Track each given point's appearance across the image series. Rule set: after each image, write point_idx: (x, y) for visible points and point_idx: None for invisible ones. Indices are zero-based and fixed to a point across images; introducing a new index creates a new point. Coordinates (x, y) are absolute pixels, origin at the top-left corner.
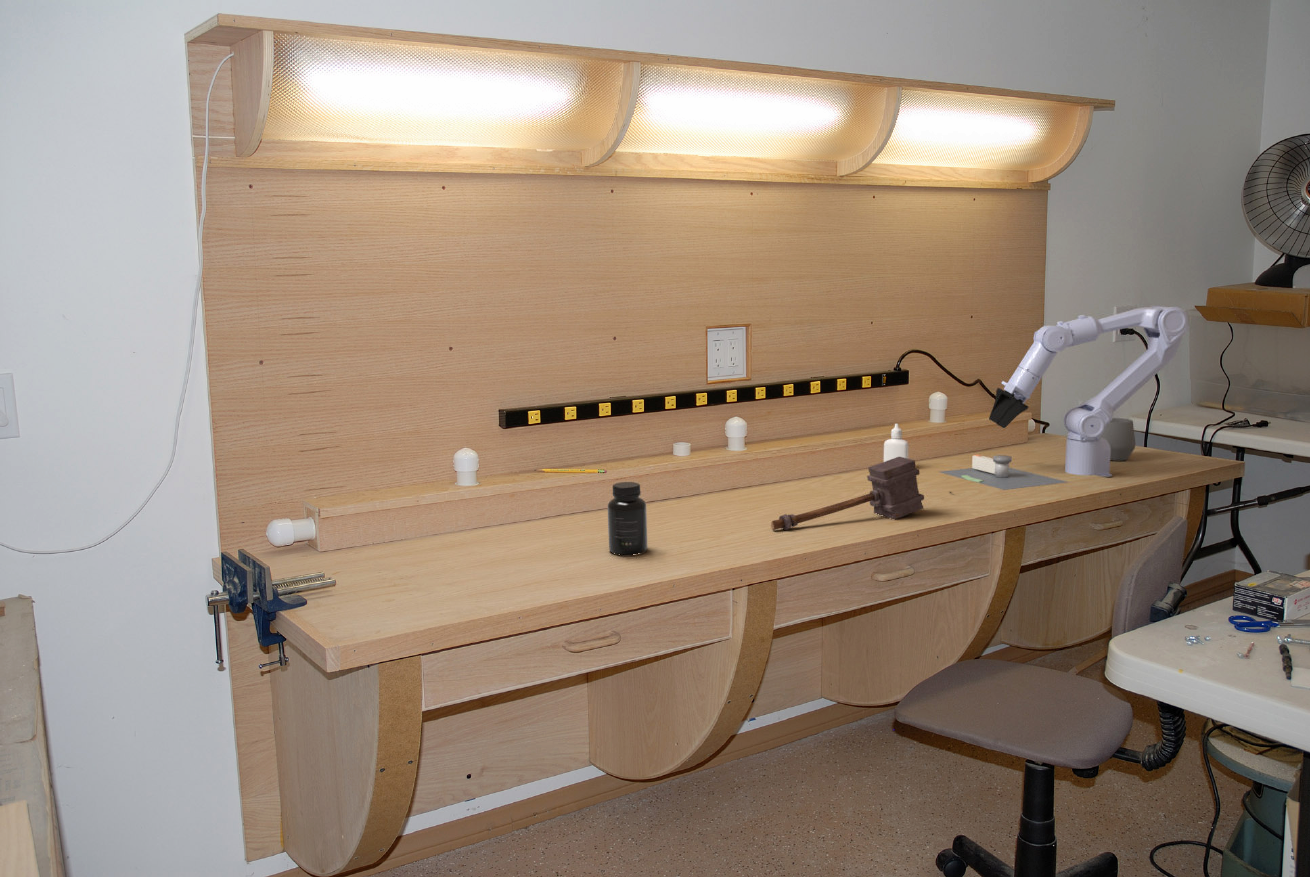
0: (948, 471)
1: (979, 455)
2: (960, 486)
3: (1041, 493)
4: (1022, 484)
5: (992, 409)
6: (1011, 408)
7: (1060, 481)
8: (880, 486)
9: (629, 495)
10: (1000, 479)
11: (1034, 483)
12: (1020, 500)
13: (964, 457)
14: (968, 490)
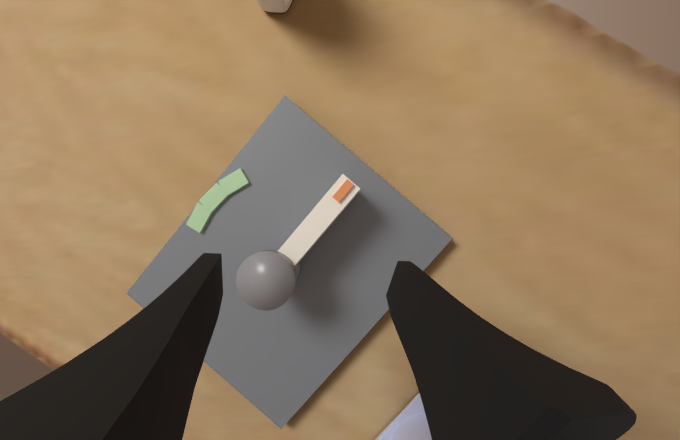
0: (299, 121)
1: (335, 196)
2: (182, 180)
3: None
4: None
5: (167, 289)
6: (449, 391)
7: (279, 410)
8: None
9: None
10: None
11: (229, 353)
12: (91, 329)
13: (610, 111)
14: (145, 206)
